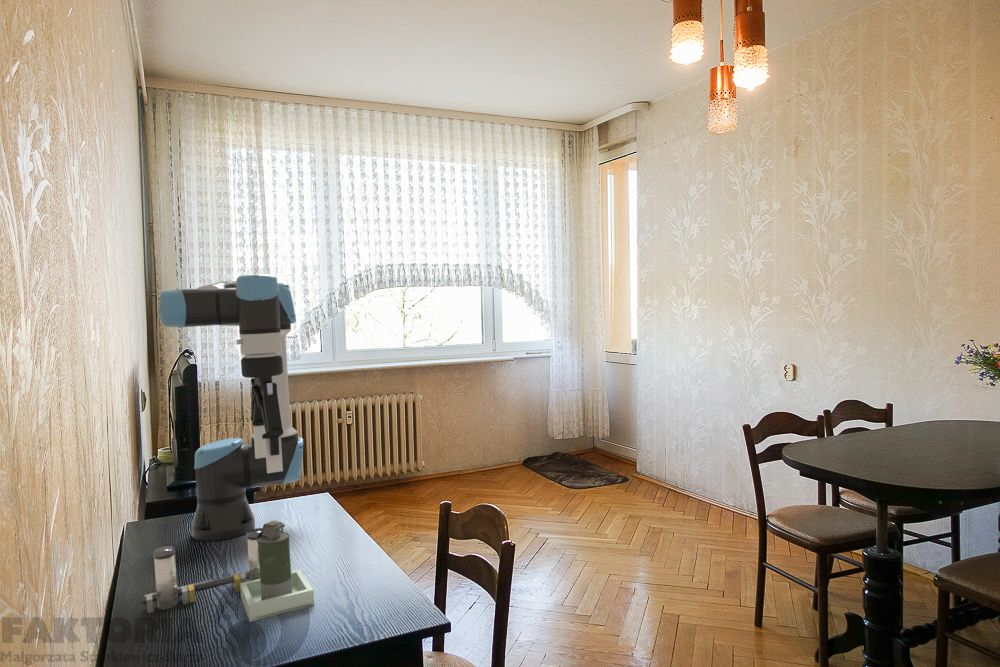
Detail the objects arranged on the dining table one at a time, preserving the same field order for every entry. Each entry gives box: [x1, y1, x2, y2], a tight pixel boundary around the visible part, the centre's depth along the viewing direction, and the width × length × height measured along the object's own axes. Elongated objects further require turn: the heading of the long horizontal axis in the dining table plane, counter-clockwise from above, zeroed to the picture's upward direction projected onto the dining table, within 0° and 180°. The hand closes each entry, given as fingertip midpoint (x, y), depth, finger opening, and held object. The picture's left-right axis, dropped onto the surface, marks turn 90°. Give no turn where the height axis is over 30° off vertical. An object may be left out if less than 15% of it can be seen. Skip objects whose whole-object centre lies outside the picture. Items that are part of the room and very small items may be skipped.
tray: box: [240, 568, 315, 623], centre depth 126 cm, size 12×12×3 cm
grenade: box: [257, 520, 292, 601], centre depth 125 cm, size 6×6×15 cm
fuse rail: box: [143, 527, 263, 614], centre depth 132 cm, size 7×25×11 cm, turn 119°
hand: (268, 464), depth 126 cm, fingers open, 13 cm apart
